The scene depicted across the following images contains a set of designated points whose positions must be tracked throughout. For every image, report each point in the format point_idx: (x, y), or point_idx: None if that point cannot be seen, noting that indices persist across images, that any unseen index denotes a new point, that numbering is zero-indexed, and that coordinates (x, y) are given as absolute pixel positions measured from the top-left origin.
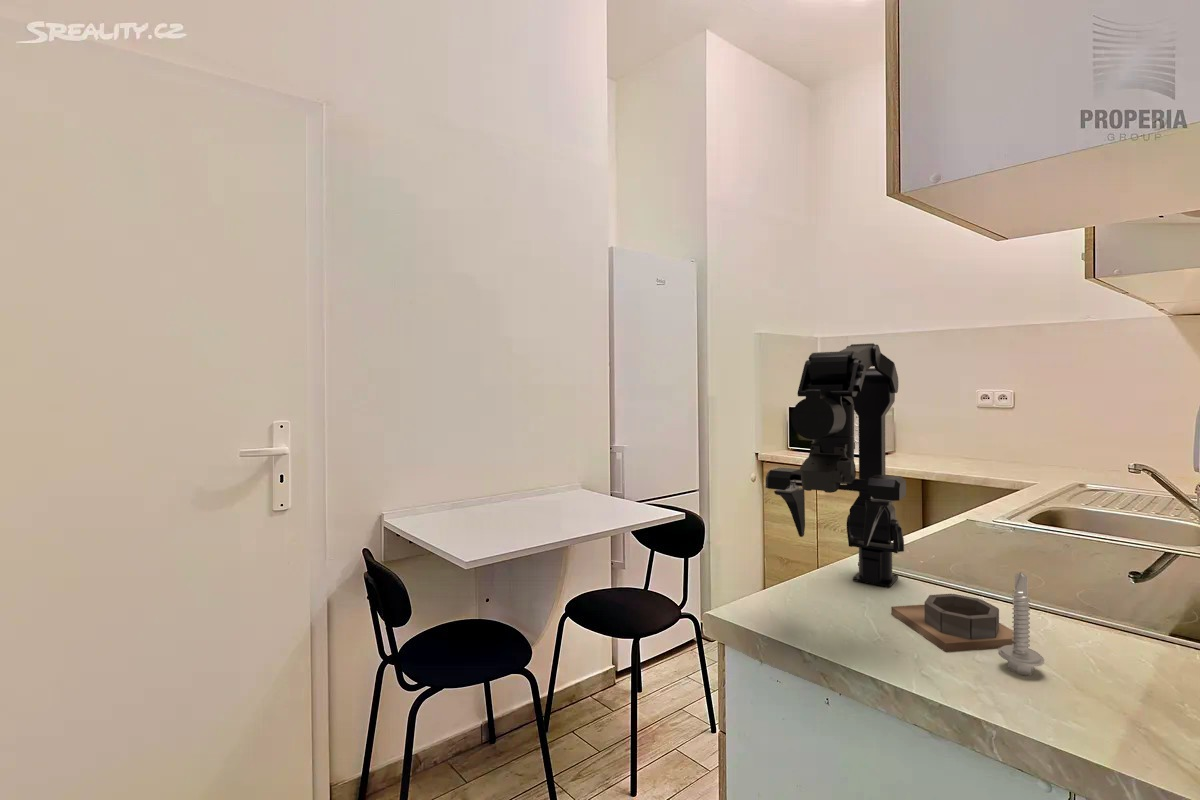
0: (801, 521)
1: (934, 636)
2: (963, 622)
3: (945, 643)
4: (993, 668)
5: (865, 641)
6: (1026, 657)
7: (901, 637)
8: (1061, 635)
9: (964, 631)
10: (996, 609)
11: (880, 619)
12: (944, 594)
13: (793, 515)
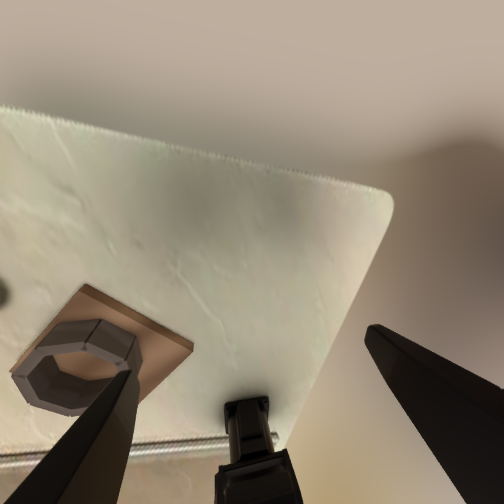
0: (421, 382)
1: (104, 303)
2: (53, 339)
3: (79, 290)
4: (10, 275)
5: (186, 247)
6: None
7: (153, 289)
8: (5, 410)
9: (60, 328)
10: (28, 399)
11: (198, 321)
12: None
13: (496, 390)
